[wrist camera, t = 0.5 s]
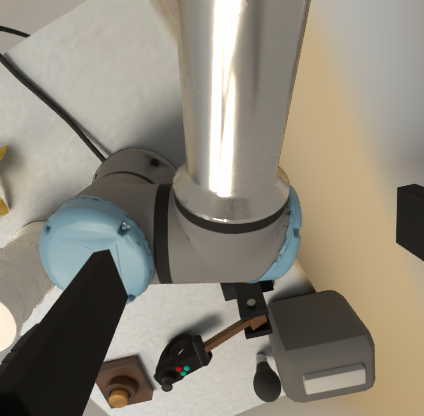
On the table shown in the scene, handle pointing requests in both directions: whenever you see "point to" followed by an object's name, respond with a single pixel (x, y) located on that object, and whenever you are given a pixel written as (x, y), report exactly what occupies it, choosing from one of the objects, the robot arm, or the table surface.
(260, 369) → the light bulb
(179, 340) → the controller
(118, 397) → the power button
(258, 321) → the lever
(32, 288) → the decorative container
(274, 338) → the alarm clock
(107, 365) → the switch block
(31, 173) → the table surface
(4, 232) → the table surface
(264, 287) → the switch bracket
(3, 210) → the figurine
